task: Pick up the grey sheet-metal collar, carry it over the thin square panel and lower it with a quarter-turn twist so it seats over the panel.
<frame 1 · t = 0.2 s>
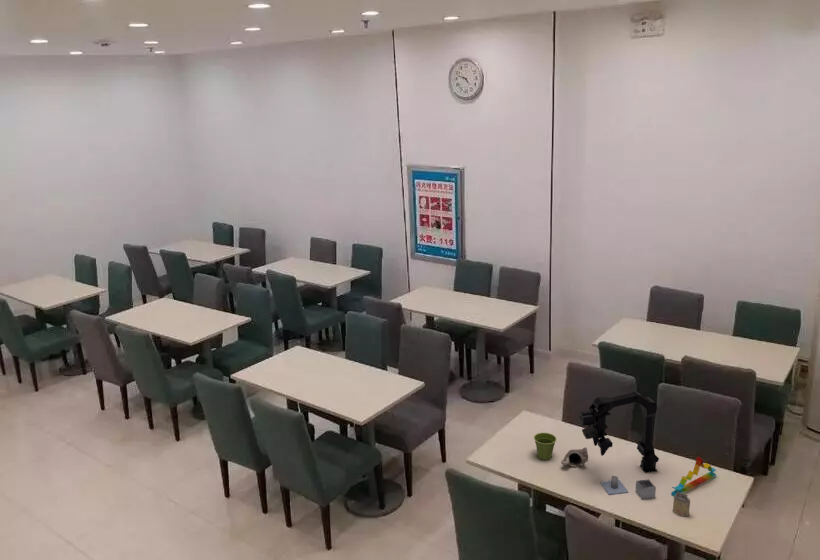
hand: (598, 450, 324), 14 cm above the table, fingers open, 9 cm apart
lighter: (680, 513, 298), on the table
plant pot: (544, 456, 346), on the table
multicoloured triangular frame: (694, 486, 317), on the table
thin square panel: (614, 487, 318), on the table
pipe: (575, 463, 340), on the table
collar: (645, 494, 312), on the table
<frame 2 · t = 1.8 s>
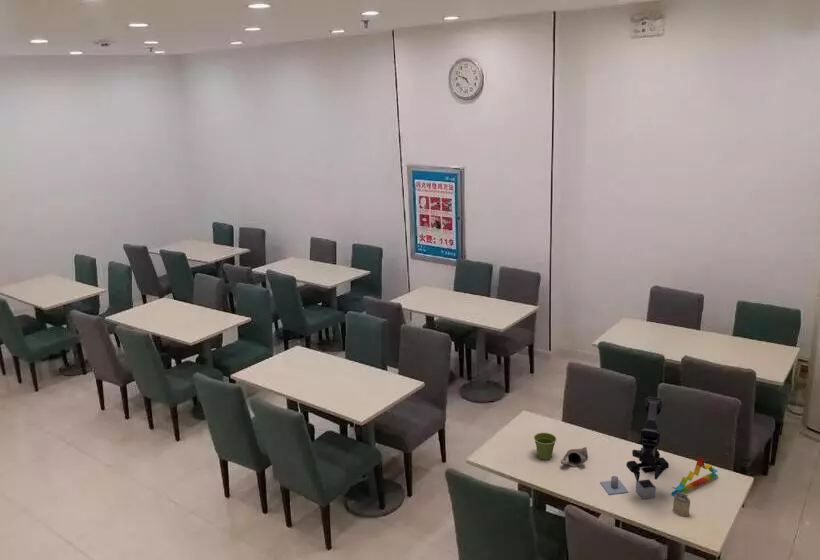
hand: (646, 480, 309), 8 cm above the table, fingers open, 9 cm apart
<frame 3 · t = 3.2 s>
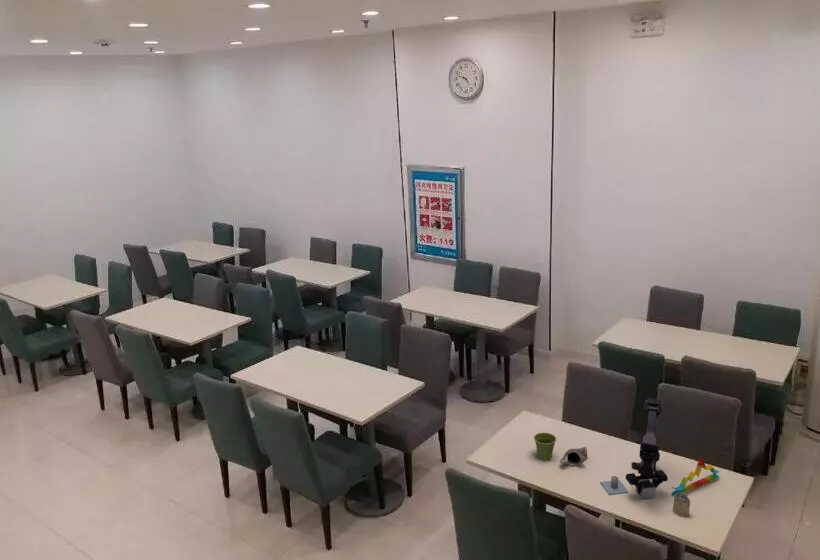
hand: (645, 492, 311), 1 cm above the table, fingers closed on collar, 7 cm apart
collar: (645, 494, 312), on the table, touching gripper
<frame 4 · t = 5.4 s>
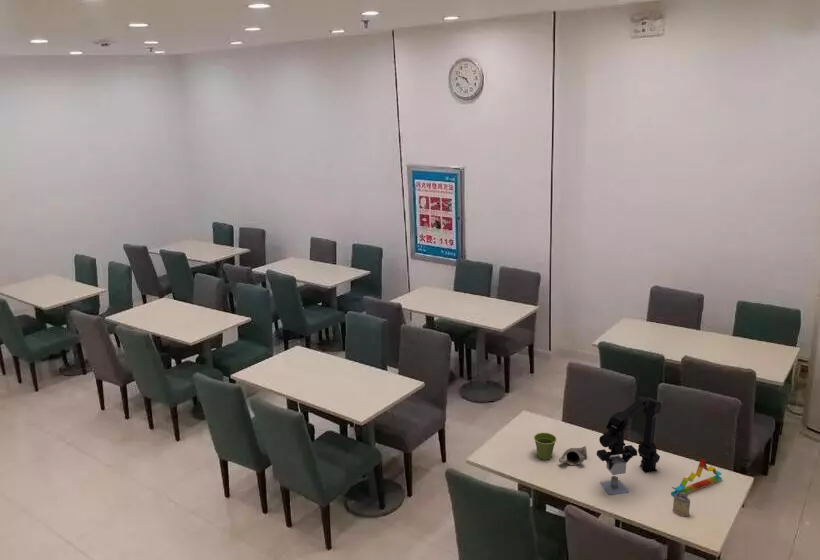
hand: (615, 468, 314), 11 cm above the table, fingers closed on collar, 7 cm apart
collar: (615, 470, 315), point 10 cm above the table, touching gripper
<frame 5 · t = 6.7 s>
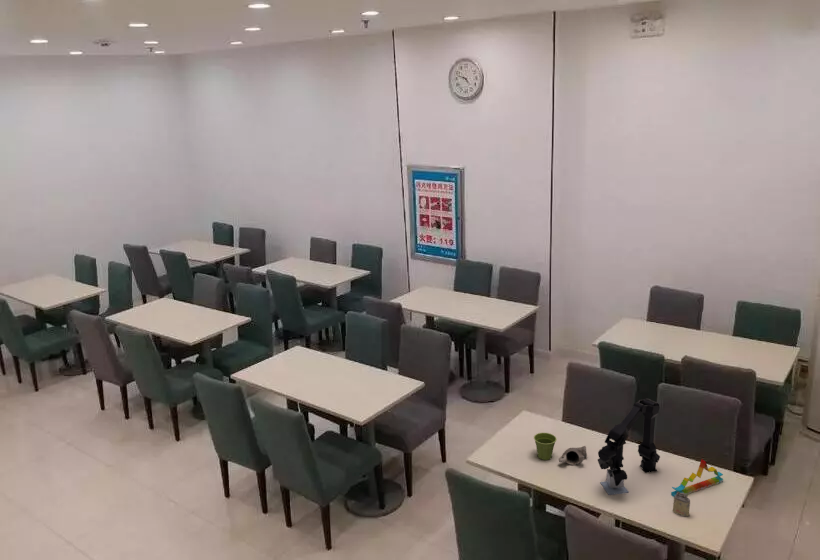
hand: (614, 481, 317), 4 cm above the table, fingers closed on collar, 7 cm apart
collar: (614, 483, 317), point 2 cm above the table, touching gripper
when the fingers open (2 cm above the table, at t = 7.9 s): collar stays where it is, resting on thin square panel.
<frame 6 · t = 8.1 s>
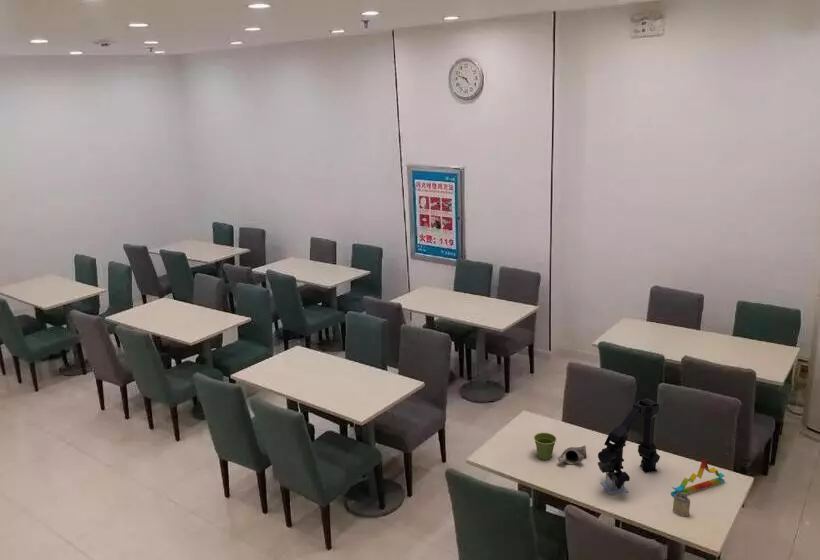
hand: (614, 483, 317), 2 cm above the table, fingers open, 8 cm apart
collar: (614, 486, 318), point 1 cm above the table, touching thin square panel
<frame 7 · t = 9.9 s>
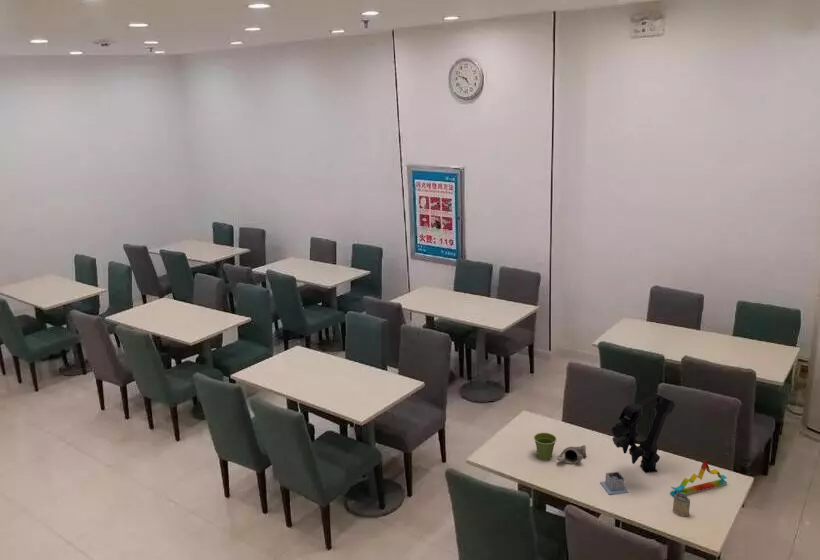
hand: (629, 458, 321), 12 cm above the table, fingers open, 9 cm apart
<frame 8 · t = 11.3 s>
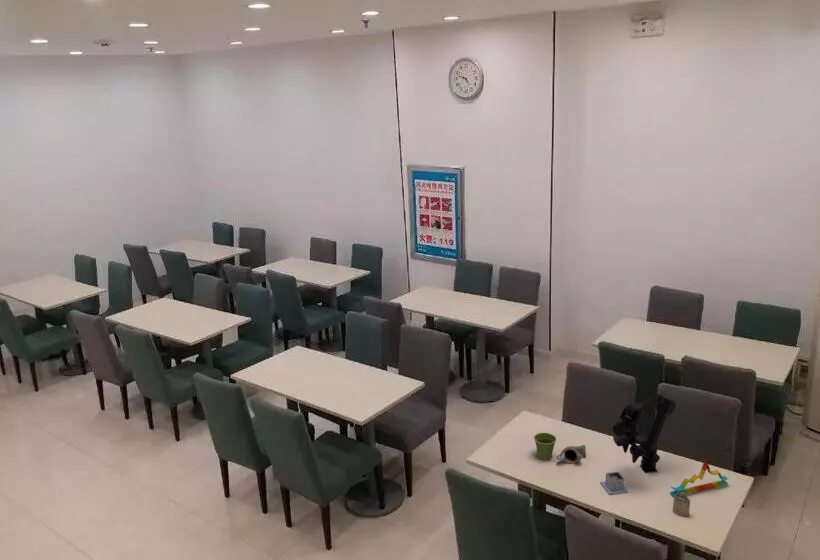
hand: (629, 457, 321), 12 cm above the table, fingers open, 9 cm apart
at the end: collar 0.1 cm off-centre on the thin square panel, point 0.6 cm above the thin square panel's base; the gripper is holding nothing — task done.
